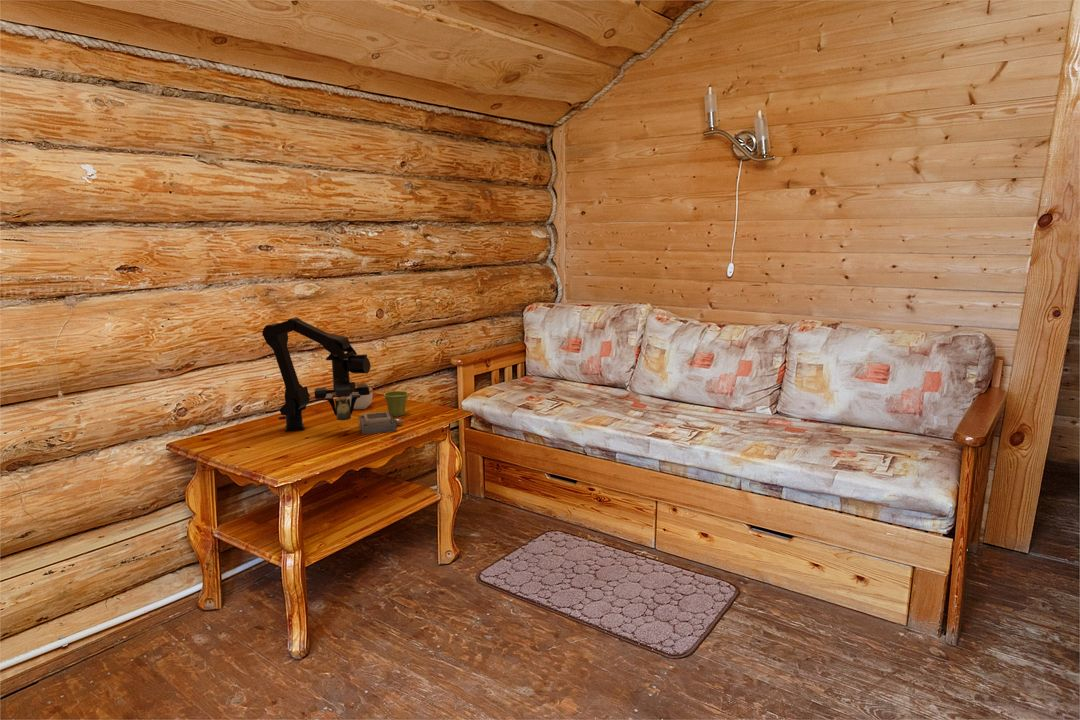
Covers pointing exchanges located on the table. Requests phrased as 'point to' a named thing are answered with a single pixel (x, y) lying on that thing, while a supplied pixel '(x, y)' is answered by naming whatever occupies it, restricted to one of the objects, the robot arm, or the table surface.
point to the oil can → (343, 409)
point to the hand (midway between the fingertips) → (343, 414)
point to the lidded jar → (362, 400)
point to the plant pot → (396, 402)
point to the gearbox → (378, 422)
